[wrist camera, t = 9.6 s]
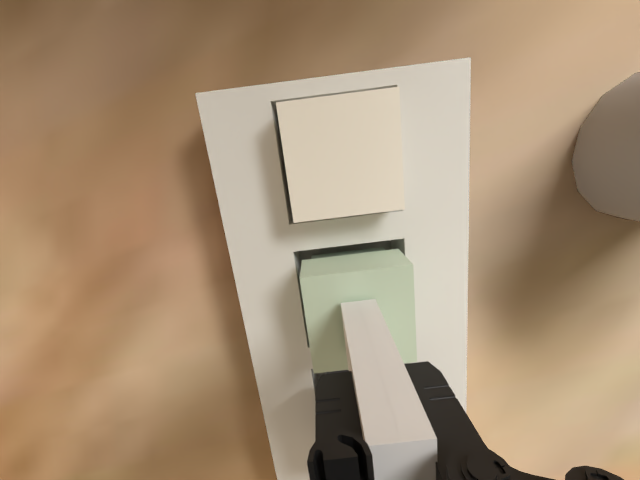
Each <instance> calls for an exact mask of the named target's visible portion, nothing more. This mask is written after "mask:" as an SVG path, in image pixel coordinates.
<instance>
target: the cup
mask: <svg viewBox="0 0 640 480" xmlns="http://www.w3.org/2000/svg"><path fill="white" fill-rule="evenodd" d="M572 166H573V171H574V176H575V180H576V185H577V190H578V192H579V193H580V194H581V195H582V196H583V197H584V198H585V199H586V201H587V202H588V203H589V204H590V205H591V206H592V207H593V208H594V209H595V210H596V211H598V212H602V213H605V214H609V215H612V216H616V217H620V218H623V219H628V220H634V221H639V222H640V72H637V73H634V74H633V75H631V76H630V77H629V78H627V79H626V80H624V81H623V82H621V83H620V84H618V85H617V86H616V87H614V88H613V89H611V90H610V91H608V92H607V93H605V94H604V95H603V96H602V97H601V98H600V100H599V101H598V103H597V104H596V105H595V107H594V108H593V110H592V111H591V113H590V114H589V115H588V117H587V118H586V120H585V121H584V123H583V124H582V125H581V127H580V130H579V134H578V138H577V142H576V146H575V150H574V154H573V158H572Z"/></svg>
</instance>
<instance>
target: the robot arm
mask: <svg viewBox="0 0 640 480" xmlns="http://www.w3.org/2000/svg"><path fill="white" fill-rule="evenodd" d="M341 312H342V321H343V329H344V338H345V347H346V356H347V363H348V369H349V371H347V372H338V373H329V374H322V375H321V377H320V379H319V381H318V382H317V384H316V386H315V401H316V403H315V413H316V415H315V443H314V444H313V446H312V447H311V449H310V450H309V455H308V459H307V466H308V472H309V478H310V480H554V479H550V478H545V477H540V476H535V475H531V474H528V473H524V472H521V471H518V470H516V469H514V468H512V467H510V466H509V465H508V464H507V463H506V461H505V460H504V459H503V458H501V457H500V456H498V455H497V454H496V453H494V452H493V451H491V450H489V449H488V448H487V446H486V445H485V444H484V442H483V441H482V439H481V437H480V436H479V434H478V432H477V431H476V429H475V427H474V426H473V424H472V422H471V421H470V419H469V417H468V416H467V414H466V412H465V411H464V409H463V407H462V406H461V404H460V402H459V401H458V399H457V398H456V397H455V394H454V392H453V391H452V389H451V387H449V384H448V382H447V381H446V379H445V377H444V376H443V374H442V372H441V371H440V370H438V369H437V368H436V367H435V366H433V365H432V364H431V363H430V362H428V361H426V362H417V363H408V364H404V363H403V360H402V358H401V356H400V354H399V351H398V349H397V347H396V344H395V342H394V340H393V338H392V335H391V333H390V331H389V329H388V326H387V324H386V322H385V320H384V317H383V315H382V313H381V310H380V308H379V306H378V304H377V301H376V299H370V300H362V301H353V302H344V303H341ZM565 480H624V479H622V478H621V477H619V476H617V475H614V474H612V473H610V472H607V471H605V470H603V469H600V468H594V467H589V466H580V467H573V468H572V469H571V470H570V471H569V472H568V473H567V474H566V476H565Z"/></svg>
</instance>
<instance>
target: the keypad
mask: <svg viewBox="0 0 640 480" xmlns="http://www.w3.org/2000/svg"><path fill="white" fill-rule="evenodd" d="M392 87H399V90H400V113H401V135H402V157H403V180H404V202H405V209H404V210H396V211H388V212H379V213H371V214H363V215H355V216H347V217H338V218H330V219H322V220H314V221H305V222H297V223H293V216H292V209H291V202H290V196H289V189H288V182H287V175H286V168H285V162H284V155H283V148H282V141H281V134H280V128H279V121H278V114H277V107H276V102H283V101H291V100H299V99H306V98H314V97H322V96H330V95H337V94H345V93H353V92H361V91H368V90H376V89H384V88H392ZM470 91H471V57H469V58H461V59H454V60H446V61H438V62H431V63H423V64H415V65H407V66H400V67H392V68H384V69H377V70H369V71H361V72H354V73H346V74H338V75H331V76H323V77H315V78H308V79H300V80H292V81H285V82H277V83H269V84H262V85H254V86H246V87H239V88H231V89H223V90H215V91H208V92H200V93H195V95H196V99H197V104H198V109H199V114H200V118H201V123H202V128H203V132H204V137H205V142H206V147H207V151H208V156H209V161H210V165H211V170H212V175H213V179H214V184H215V189H216V194H217V198H218V203H219V208H220V212H221V217H222V222H223V227H224V231H225V236H226V241H227V245H228V250H229V255H230V260H231V264H232V269H233V274H234V278H235V283H236V288H237V293H238V297H239V302H240V307H241V311H242V316H243V321H244V325H245V330H246V335H247V340H248V344H249V349H250V354H251V358H252V363H253V368H254V373H255V377H256V382H257V387H258V391H259V396H260V401H261V406H262V410H263V415H264V420H265V424H266V429H267V434H268V439H269V443H270V448H271V453H272V457H273V462H274V467H275V472H276V476H277V480H310V478H309V472H308V466H307V459H308V455H309V450H310V449H311V447H312V446H313V444H314V443H315V415H316V413H315V403H316V401H315V386H316V384H317V382H318V381H319V379H320V377H321V375H322V374H326V372H323V373H315V374H314V372H313V365H312V358H311V352H310V345H309V338H308V332H307V325H306V318H305V311H304V305H303V298H302V291H301V285H300V271H301V264H302V260H307V259H311V255H319V254H328V253H336V252H344V251H353V250H361V249H370V248H378V247H383V248H384V249H385V250H391V249H399V250H400V251H401V252H402V253H403V254H404V255H405V256H406V257H407V258H408V260H409V261H410V262H411V263H412V264H413V270H414V296H415V321H416V347H417V362H426V361H428V362H430V363H431V364H432V365H433V366H435V367H436V368H437V369H438V370H440V371H441V372H442V374H443V376H444V377H445V379H446V381H447V382H448V384H449V387H451V389H452V391H453V392H454V394H455V397H456V398H457V399H458V401H459V402H460V404H461V406H462V407H463V409H464V411H465V412H466V391H467V316H468V241H469V166H470ZM417 362H413V363H417ZM404 364H408V363H404Z"/></svg>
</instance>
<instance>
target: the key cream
mask: <svg viewBox="0 0 640 480" xmlns="http://www.w3.org/2000/svg"><path fill="white" fill-rule="evenodd" d="M276 107H277V114H278V121H279V128H280V134H281V141H282V148H283V155H284V162H285V168H286V175H287V182H288V189H289V196H290V202H291V209H292V216H293V223H297V222H305V221H314V220H322V219H330V218H338V217H347V216H355V215H363V214H371V213H379V212H388V211H396V210H404V209H405V202H404V180H403V157H402V135H401V113H400V90H399V87H392V88H384V89H376V90H368V91H361V92H353V93H345V94H337V95H330V96H322V97H314V98H306V99H299V100H291V101H283V102H276Z"/></svg>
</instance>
